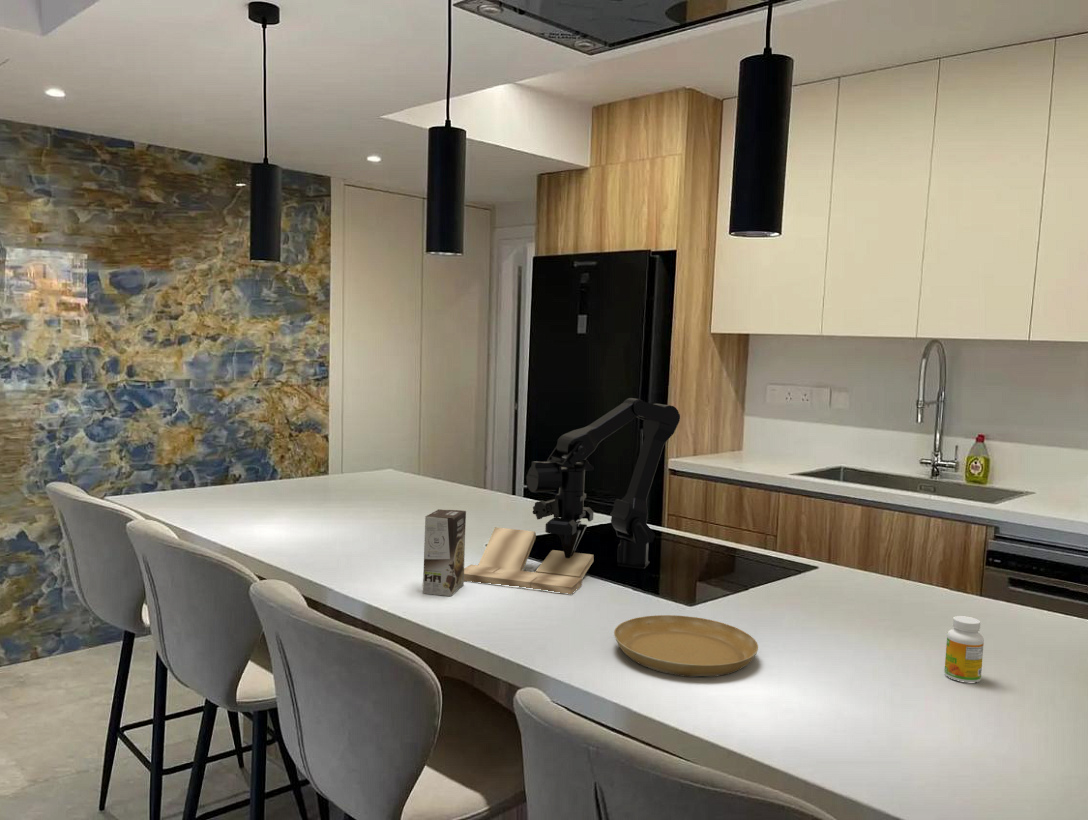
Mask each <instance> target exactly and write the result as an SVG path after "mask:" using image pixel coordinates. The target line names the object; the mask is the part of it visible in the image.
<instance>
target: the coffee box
mask: <svg viewBox="0 0 1088 820" xmlns="http://www.w3.org/2000/svg"><path fill="white" fill-rule="evenodd" d="M466 518H467V510H459V509H437V510H435V511H433V512H431V513H429V514H427V515H425V517H424V519H425V522H424V523H425V525H424V544H423V547H424V548H423V551H424V552H423V575H422V594H426V595H427V594H429V595H436V596H437V595H438V596H446V597H452V596H453V595H454V594H455V593H456V592H457V591H458V590H459V589H460V588H462V587H463V586H464V585H465V581H464V568H465V555H466V554H465V549H466V521H467V519H466Z"/></svg>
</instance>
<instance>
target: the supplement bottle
mask: <svg viewBox="0 0 1088 820" xmlns="http://www.w3.org/2000/svg"><path fill="white" fill-rule="evenodd" d="M952 627H953V628H951V629H949V630H948V632H947V634H946V646H945V647H946V648H945V659H944V670H943V671H944V672H943V673H944V675H945V677H947V676H948V677H950V678H952V679H955V680H959V681H964V682H977V683H979V682H980V681H981V680H982V670H983V669H982V667H983V659H984V657H983V656H984V644H985V643H984V641H985V640H984V637H983V635H982V634H981V633H979V632H980V629H981V621H980V620H979V619H977V618H975V617H971V616H964V615H956V616H953V618H952ZM948 677H947V678H948ZM950 678H949V679H950ZM952 679H951V680H952ZM978 681H979V682H978Z"/></svg>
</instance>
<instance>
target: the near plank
mask: <svg viewBox="0 0 1088 820" xmlns="http://www.w3.org/2000/svg"><path fill="white" fill-rule="evenodd" d="M594 557H595V556H594V554H590V553H582V552H581V553H580V552H574V554H573V556H571V557H570V558H565V554H564V550H555V549H552V550H550V552H549V553H548V554H547V556H546V557H545V559H544V560H542V562H541V563H540V565H539V566H538V567H537V569H536V570H535V572H536V573H544V574H552V575H560V576H568V577H577V578H582V579H583V578H584V577H585V575H586V574H587V572H588V571H589V569H590V567H591V565H592V564H593V563H594Z"/></svg>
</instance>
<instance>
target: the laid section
mask: <svg viewBox="0 0 1088 820" xmlns="http://www.w3.org/2000/svg"><path fill="white" fill-rule="evenodd" d="M467 581H472V582H471V583H474V582H481V583H480V584H482V583H491V584H501V585H509V586H519V587H526V588H533V589H541V590H548V591H554V592H560V593H568V594H572V593H573V592H574V591H575V590H576V589H577V590H578V589H579V587H580V586H581V585H582V586H583V578H577V577H568V576H560V575H552V574H544V573H536V571H528V570H527V571H526V570H523V571H520V570H512V569H503V568H495V567H487V566H479V565H478V564H477V565H476V564H470V565H468V566H466V567H464V582H467ZM580 588H581V587H580ZM577 590H576V591H577ZM576 591H575V592H576ZM575 592H574V593H575ZM574 593H573V594H574ZM573 594H572V595H573Z"/></svg>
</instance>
